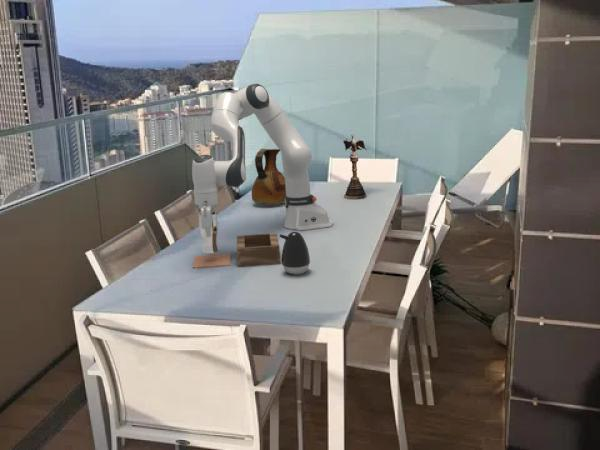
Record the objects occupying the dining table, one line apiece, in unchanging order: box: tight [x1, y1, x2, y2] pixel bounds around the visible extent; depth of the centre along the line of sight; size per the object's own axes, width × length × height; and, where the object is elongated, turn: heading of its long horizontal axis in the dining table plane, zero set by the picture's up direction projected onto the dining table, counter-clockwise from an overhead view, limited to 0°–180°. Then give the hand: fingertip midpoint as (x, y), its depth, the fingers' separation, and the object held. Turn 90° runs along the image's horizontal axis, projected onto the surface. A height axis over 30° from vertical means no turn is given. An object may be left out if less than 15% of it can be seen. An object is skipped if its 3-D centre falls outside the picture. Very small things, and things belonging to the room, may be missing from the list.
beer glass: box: [198, 211, 219, 254], centre depth 237 cm, size 7×7×15 cm
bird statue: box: [342, 133, 368, 200], centre depth 334 cm, size 17×13×35 cm
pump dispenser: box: [279, 230, 311, 276], centre depth 221 cm, size 10×10×15 cm
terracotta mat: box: [192, 253, 231, 269], centre depth 240 cm, size 14×14×1 cm
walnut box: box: [236, 232, 281, 268], centre depth 240 cm, size 18×16×7 cm
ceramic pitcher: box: [251, 148, 286, 206], centre depth 326 cm, size 20×20×30 cm
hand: (209, 233), depth 237 cm, fingers closed on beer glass, 6 cm apart
